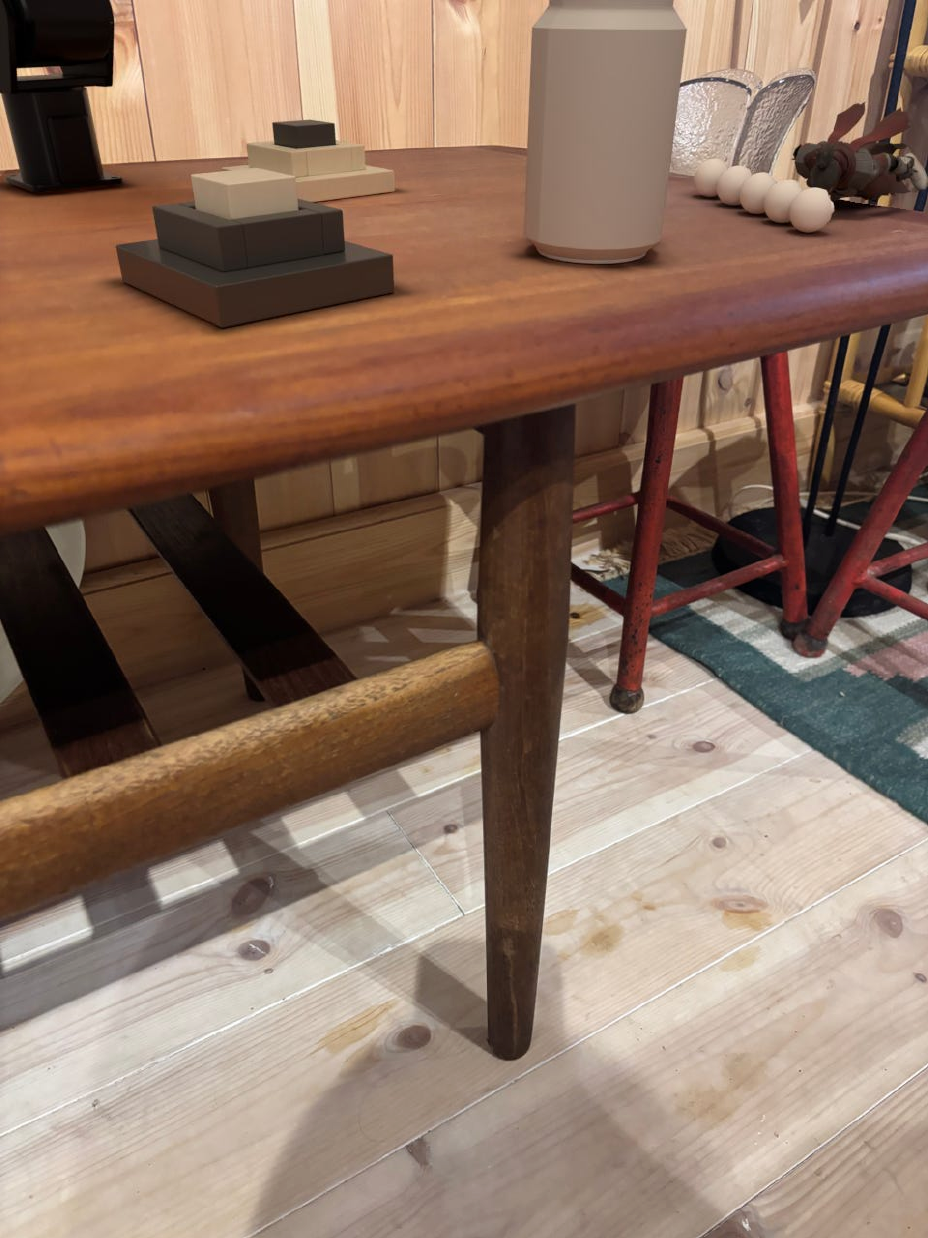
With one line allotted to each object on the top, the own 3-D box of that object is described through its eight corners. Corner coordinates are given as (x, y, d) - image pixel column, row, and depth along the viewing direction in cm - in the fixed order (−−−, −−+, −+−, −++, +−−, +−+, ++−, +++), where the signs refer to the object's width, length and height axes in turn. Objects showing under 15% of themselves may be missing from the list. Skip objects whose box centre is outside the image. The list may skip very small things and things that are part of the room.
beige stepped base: (223, 188, 66) (217, 142, 65) (326, 176, 71) (323, 133, 69) (288, 205, 61) (283, 155, 59) (395, 191, 65) (393, 145, 64)
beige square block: (196, 216, 41) (190, 174, 40) (261, 207, 43) (257, 167, 42) (232, 227, 39) (227, 183, 38) (299, 218, 41) (295, 175, 40)
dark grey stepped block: (122, 281, 44) (106, 203, 42) (282, 255, 48) (275, 183, 46) (221, 328, 37) (208, 238, 35) (395, 292, 42) (392, 211, 40)
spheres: (723, 156, 64) (715, 194, 65) (691, 155, 64) (685, 193, 65) (847, 191, 52) (835, 236, 53) (810, 189, 52) (798, 235, 53)
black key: (274, 149, 65) (271, 122, 64) (312, 146, 66) (310, 119, 65) (298, 154, 63) (295, 125, 62) (336, 150, 64) (334, 122, 63)
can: (689, 256, 49) (726, -15, 42) (583, 274, 45) (606, -19, 38) (597, 232, 54) (617, -13, 47) (495, 246, 50) (502, -16, 44)
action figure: (821, 189, 70) (746, 204, 57) (840, 100, 67) (765, 94, 54) (931, 198, 67) (878, 215, 54) (956, 104, 64) (907, 99, 50)
